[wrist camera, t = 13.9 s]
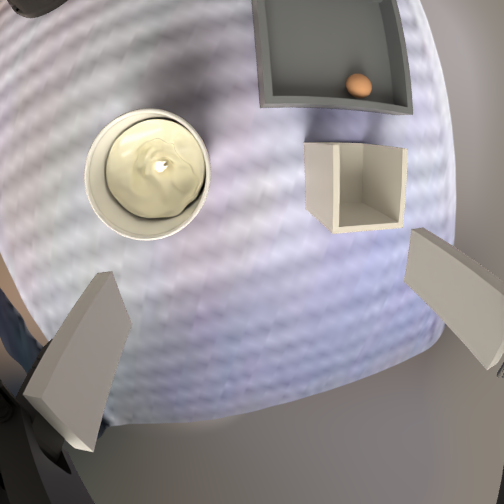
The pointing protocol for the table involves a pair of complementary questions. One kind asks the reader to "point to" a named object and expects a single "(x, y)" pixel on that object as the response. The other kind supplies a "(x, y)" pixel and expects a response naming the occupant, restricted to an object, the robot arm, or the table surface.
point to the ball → (358, 85)
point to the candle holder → (147, 174)
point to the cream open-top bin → (355, 185)
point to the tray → (331, 54)
